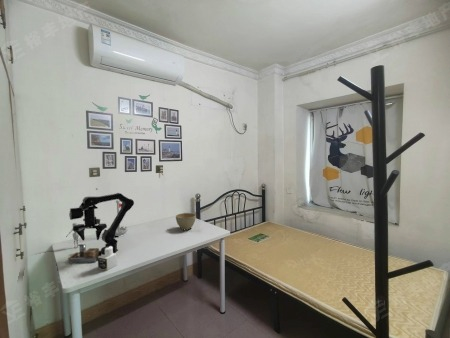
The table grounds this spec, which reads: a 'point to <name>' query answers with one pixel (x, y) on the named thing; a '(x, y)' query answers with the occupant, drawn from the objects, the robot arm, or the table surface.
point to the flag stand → (119, 230)
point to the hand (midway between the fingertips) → (90, 240)
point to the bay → (82, 256)
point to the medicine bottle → (107, 258)
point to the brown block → (91, 253)
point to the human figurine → (75, 235)
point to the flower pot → (185, 220)
